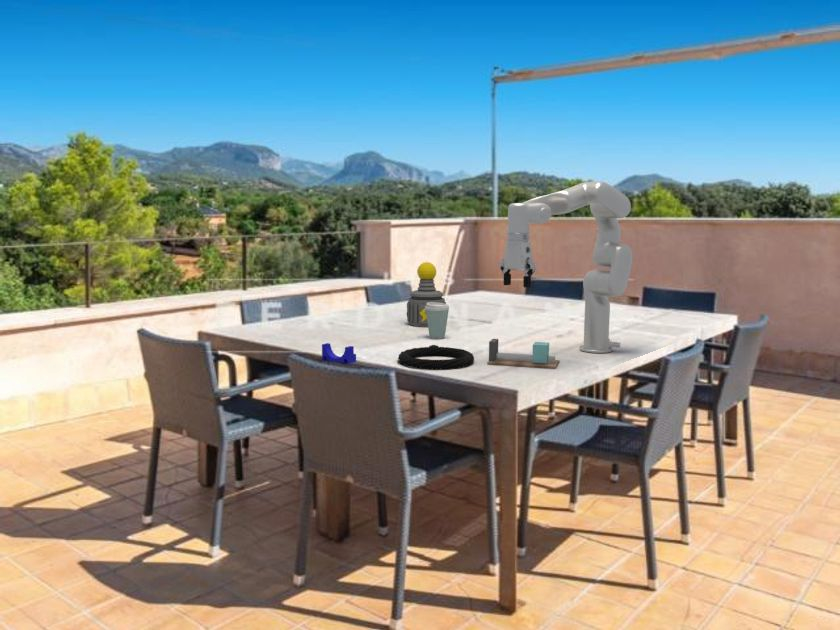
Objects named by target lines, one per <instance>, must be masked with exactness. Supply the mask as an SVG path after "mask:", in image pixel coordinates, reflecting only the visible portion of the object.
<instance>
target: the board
mask: <svg viewBox="0 0 840 630" xmlns="http://www.w3.org/2000/svg"><path fill="white" fill-rule="evenodd" d="M486 364H487V365H490V366H503V367H504V366H505V367H517V368H518V367H519V368H533V369H550V370H556V369H557V367H558V366H559V364H560V360H558V359H555V364H544V363H532V362H516V361H501V360H495V361H489V360H488V361H487V363H486Z"/></svg>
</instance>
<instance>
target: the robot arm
mask: <svg viewBox="0 0 840 630" xmlns="http://www.w3.org/2000/svg"><path fill="white" fill-rule="evenodd" d="M586 206H589V209H590V212H591V215H592V216H593V217H594V219H595V222H596V223H597V228H598V229H597V236H596V239H595V240H596V241H595V245H594V249H593V253H592V260H593V263H594V264H595V265H596V266H597V267H602V268H609V270H603V269H593V270H589V271H588V272H586V274H585V275H584V277H583V281H582V287H583V292H584V321H583V323H584V325H583V344H582V345H580V346H579V350H580V351H582V352H586V353H591V354H606V353H611V352H612V351H613V348H621V342H618V341H611V339H610V338H609V335H610V319H611V318H610V317H611V315H610V314H611V313H610V312H611V303H610V300H609V297H614V298H615V297H616V298H618V297H620V296H622V295H623V294H624V293H625V292H626V289H627V287H628V283H629V278H630V275H631V270H632V265H633V258H634V257H633V251H632V249H631V247H630V246H629V245H628V244H626V243H622V242H621V243H620V239H621V238H620V237H621V227H620V224H619V221H618V220H617V219H624V218H626V217H627V216H628V215H629V214H630V212H631V209H632V205H631V201H630V199H629V197H627V196H626V195H625V194H623V192H620V191H619V190H618V189H616V188H615V187H614V186H612V185H611V184H609V183H607V182H605V181H598V180H597V181H584V182H581V183H578V184H576V185H574V186H569V187H568V188H565V189H562V190H559V191H556V192H552V193H549V194H546V195H545V194H544V195H541V196H537V197H535V198H531V199H529V200H526V201H523V202H516V203H515V202H512V203H510V204H509V205H508V208H507V241H506V243H505V249H504V256H503V257H504V258H503V259H500V261H498V264H499V266H500V270H501V273H502V275H503V286H511V284H512V281H511V280H512V274H511V272H512V271H522V273H523V274H524V276H523V281H522V283H523V284H522V287H523V288H531V285H532V284H531V282H532V276H533V274H534V273H535V271H536V268H537V266H538V264H537V263H536V262H535V261H533V252H532V251H533V250H532V244H531V242H529V240H530V239H531V235H530V225H531V224H533V225H542V224H545V223H547V222H548V221H549V220H550V219H551V217H552V216H555V215H565V214H569V213H571V212H574V211H576V210H579V209H581V208H583V207H586Z"/></svg>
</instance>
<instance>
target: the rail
mask: <svg viewBox="0 0 840 630" xmlns="http://www.w3.org/2000/svg"><path fill="white" fill-rule="evenodd" d="M532 356H533V354H530V353H529V354H528V353H513V352H512V353H510V352H499V351H498V352H497V353H496V360H501V361H516V362H532ZM555 360H556V356H555V355H549V356H547V364H555Z"/></svg>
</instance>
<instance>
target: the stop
mask: <svg viewBox="0 0 840 630" xmlns="http://www.w3.org/2000/svg"><path fill="white" fill-rule="evenodd" d="M497 352H498V353H499V338H492V339H491V340H490V341H489V342H488V361H495V360H496V353H497Z"/></svg>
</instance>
